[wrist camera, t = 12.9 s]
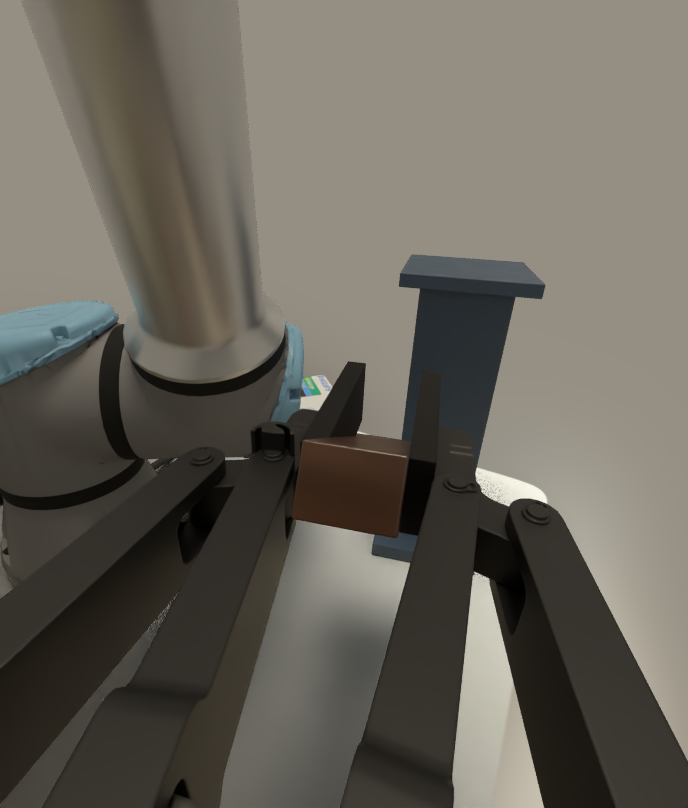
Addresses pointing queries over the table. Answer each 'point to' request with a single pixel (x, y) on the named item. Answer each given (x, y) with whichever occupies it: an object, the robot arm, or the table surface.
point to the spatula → (353, 483)
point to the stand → (458, 346)
